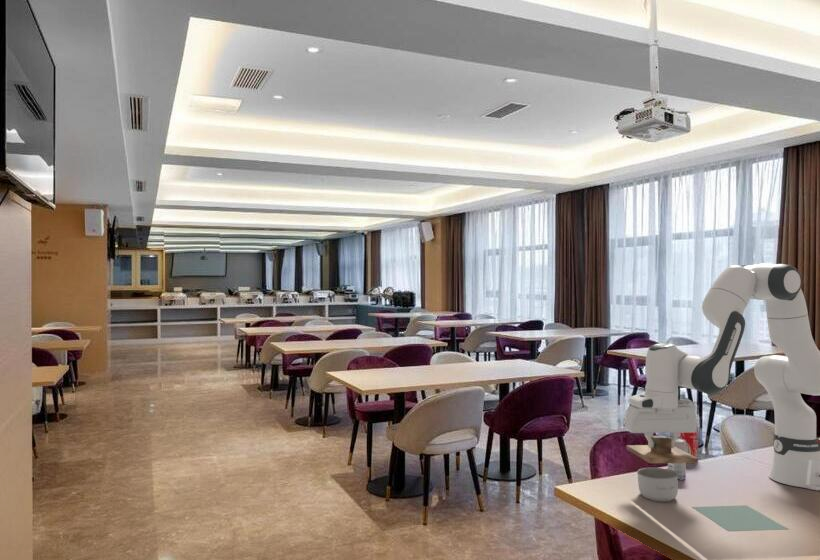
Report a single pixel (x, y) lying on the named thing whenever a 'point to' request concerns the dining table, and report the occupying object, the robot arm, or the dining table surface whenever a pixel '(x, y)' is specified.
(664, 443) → the cover
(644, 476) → the teacup
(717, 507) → the mat
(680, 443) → the energy drink
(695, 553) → the dining table surface
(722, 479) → the dining table surface
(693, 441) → the soda can
